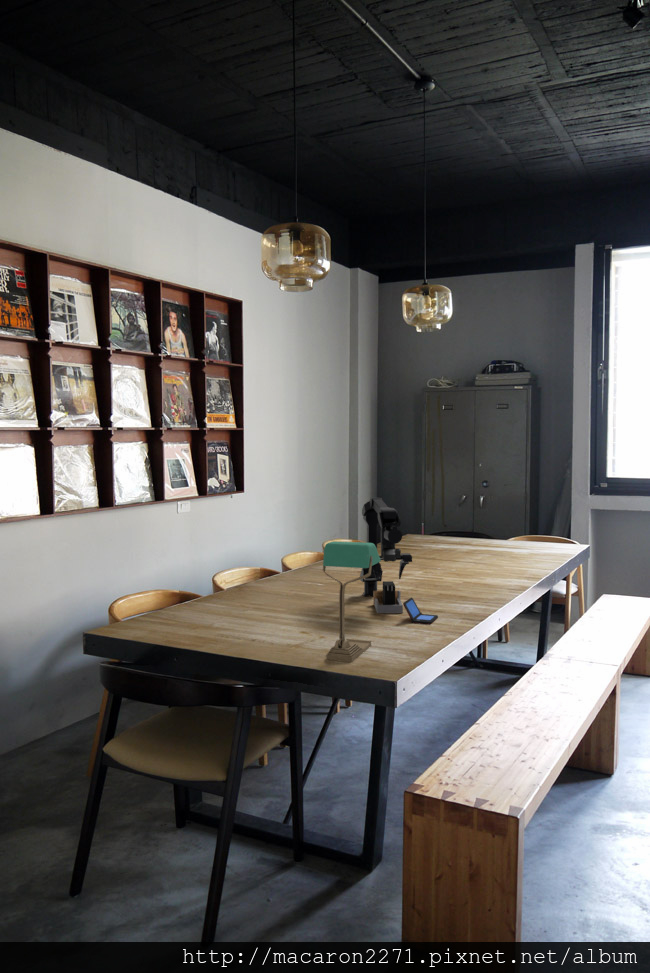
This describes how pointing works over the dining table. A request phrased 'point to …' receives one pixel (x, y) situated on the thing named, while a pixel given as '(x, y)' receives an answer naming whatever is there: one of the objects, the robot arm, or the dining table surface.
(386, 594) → the electronic device
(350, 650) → the banker's lamp
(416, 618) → the handheld game console
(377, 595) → the rectangular wooden block
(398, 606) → the grey shallow open box
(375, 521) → the robot arm
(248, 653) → the dining table surface
